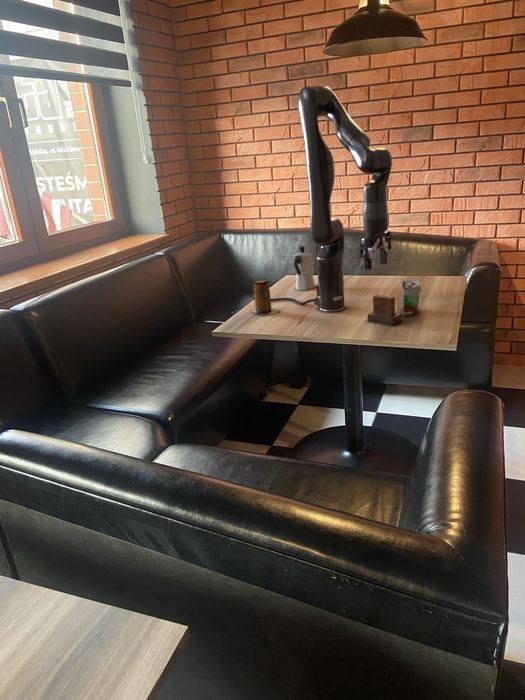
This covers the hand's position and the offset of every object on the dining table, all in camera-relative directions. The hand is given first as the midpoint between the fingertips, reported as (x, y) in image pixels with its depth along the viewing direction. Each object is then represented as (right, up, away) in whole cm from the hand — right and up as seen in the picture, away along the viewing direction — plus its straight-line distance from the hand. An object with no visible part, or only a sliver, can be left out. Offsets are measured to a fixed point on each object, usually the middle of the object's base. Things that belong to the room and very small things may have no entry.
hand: (376, 266), depth 174 cm
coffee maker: (-19, -1, +57) cm, 60 cm away
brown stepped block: (+4, -18, +5) cm, 19 cm away
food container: (+15, -14, +11) cm, 23 cm away
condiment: (-36, -13, +30) cm, 49 cm away
